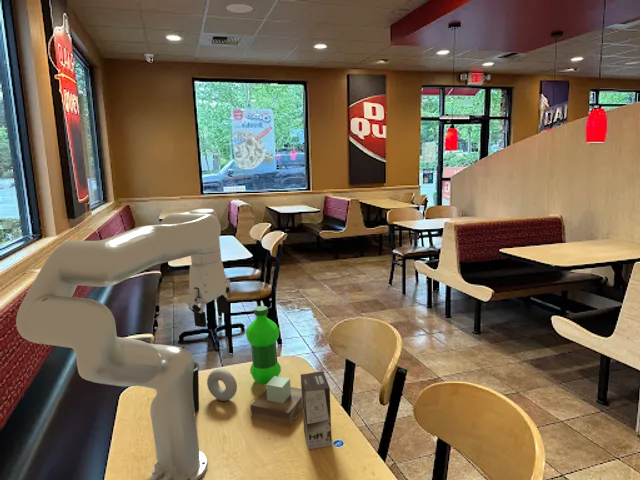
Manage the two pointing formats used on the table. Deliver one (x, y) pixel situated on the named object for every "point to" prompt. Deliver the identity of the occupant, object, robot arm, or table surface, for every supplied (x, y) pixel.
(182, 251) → the robot arm
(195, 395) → the drinking cup
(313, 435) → the coffee box
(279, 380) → the green block
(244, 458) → the table surface
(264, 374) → the plastic bottle
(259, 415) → the walnut plinth
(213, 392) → the donut
